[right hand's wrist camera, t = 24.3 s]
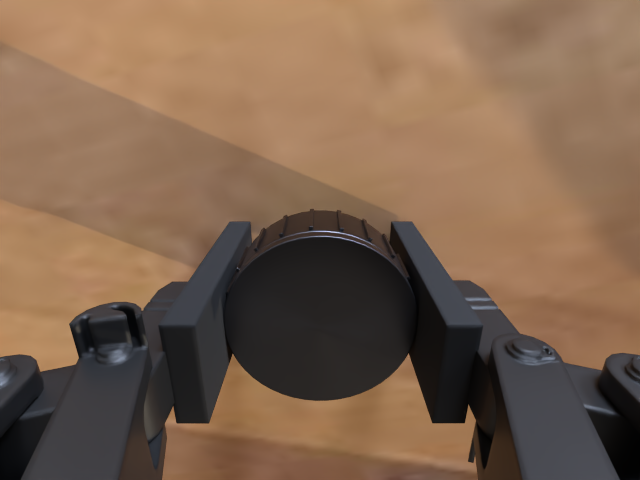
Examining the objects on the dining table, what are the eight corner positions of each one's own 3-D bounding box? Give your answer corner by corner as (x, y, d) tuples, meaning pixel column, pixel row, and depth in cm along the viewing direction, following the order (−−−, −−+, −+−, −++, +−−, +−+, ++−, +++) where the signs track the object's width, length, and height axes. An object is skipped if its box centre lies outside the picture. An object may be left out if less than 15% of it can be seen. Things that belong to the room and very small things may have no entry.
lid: (393, 359, 13) (406, 406, 11) (238, 352, 13) (224, 399, 11) (415, 212, 11) (436, 239, 9) (234, 203, 11) (215, 228, 9)
